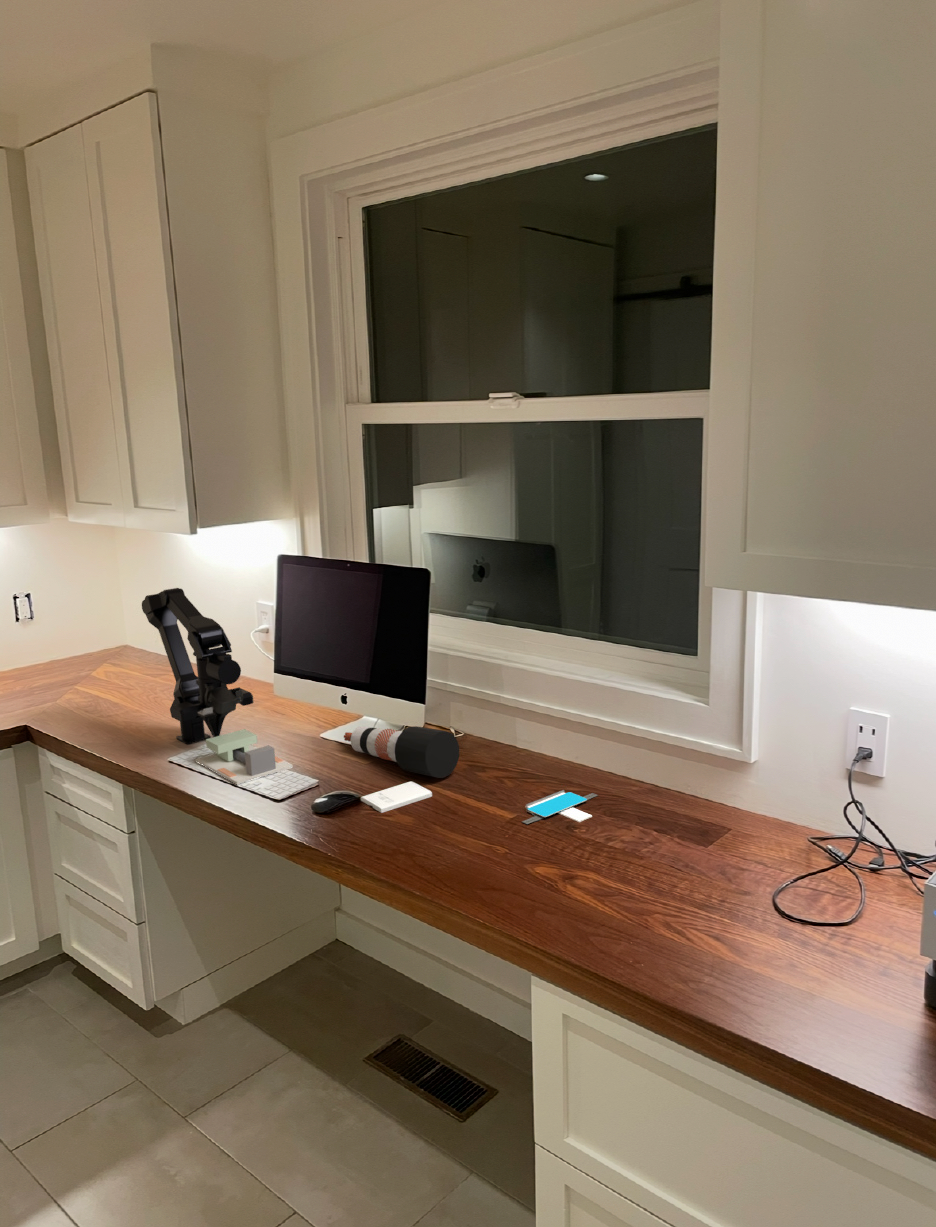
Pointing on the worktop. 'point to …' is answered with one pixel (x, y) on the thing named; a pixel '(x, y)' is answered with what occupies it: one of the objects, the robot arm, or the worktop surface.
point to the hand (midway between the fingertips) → (216, 738)
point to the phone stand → (558, 806)
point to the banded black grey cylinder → (410, 748)
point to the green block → (231, 743)
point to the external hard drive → (396, 796)
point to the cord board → (237, 767)
